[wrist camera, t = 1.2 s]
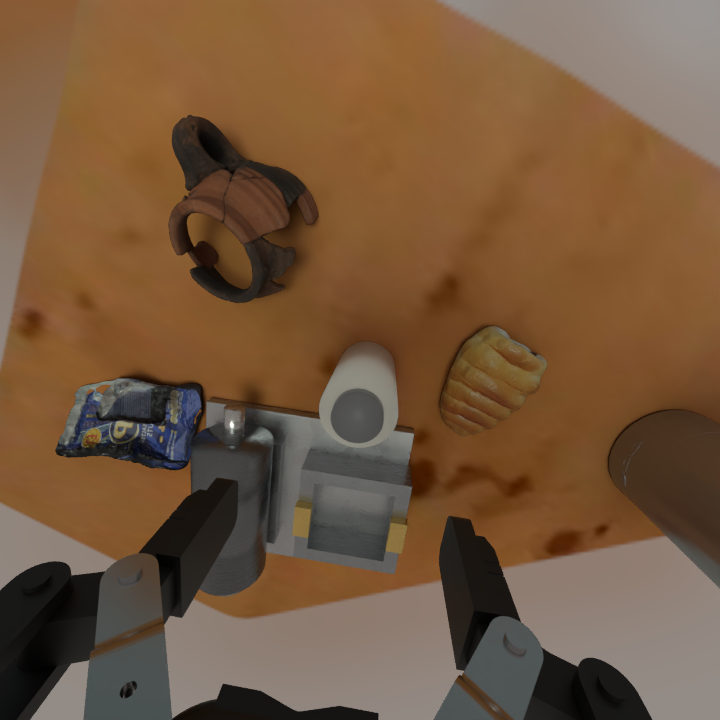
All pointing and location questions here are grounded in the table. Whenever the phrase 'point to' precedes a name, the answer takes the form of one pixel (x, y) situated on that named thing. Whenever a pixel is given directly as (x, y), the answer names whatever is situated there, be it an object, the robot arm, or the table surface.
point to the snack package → (133, 423)
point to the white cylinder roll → (361, 397)
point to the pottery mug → (234, 208)
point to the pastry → (489, 381)
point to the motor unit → (301, 491)
